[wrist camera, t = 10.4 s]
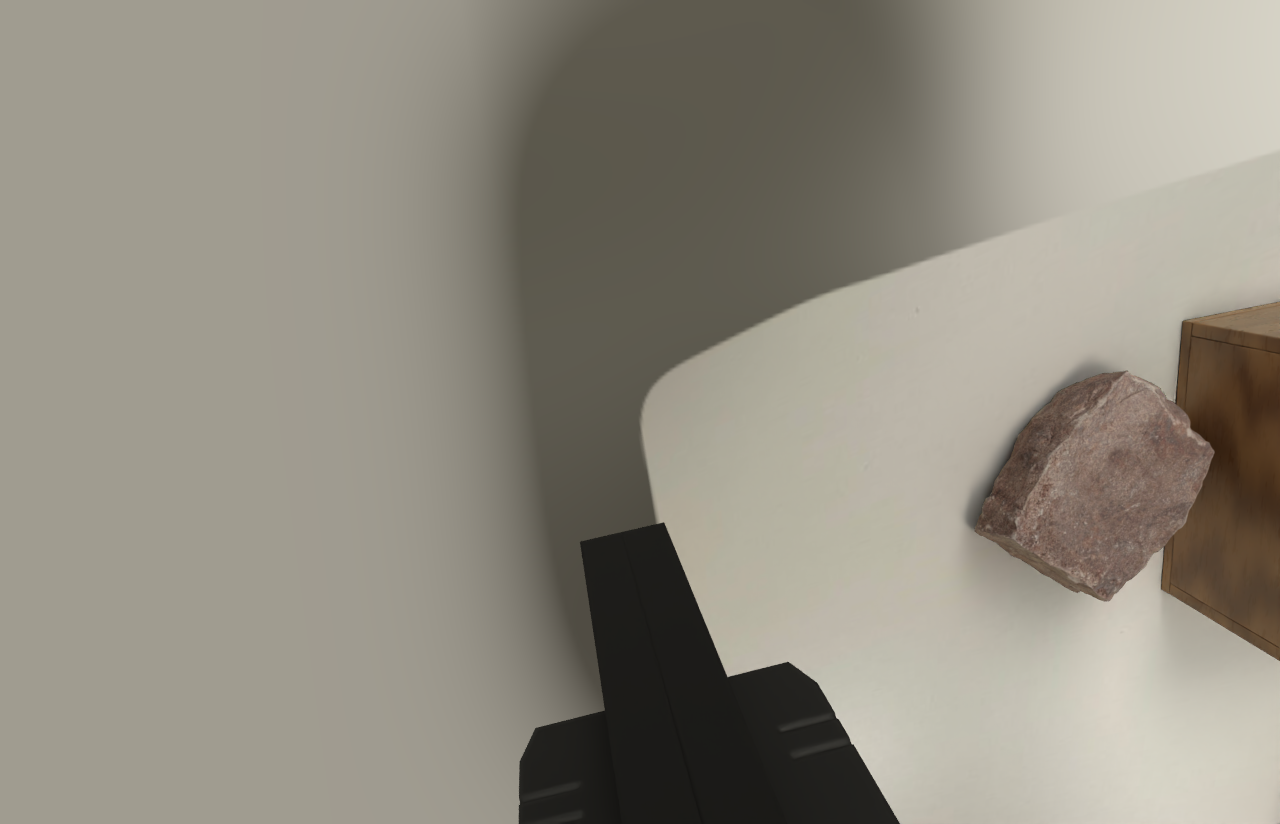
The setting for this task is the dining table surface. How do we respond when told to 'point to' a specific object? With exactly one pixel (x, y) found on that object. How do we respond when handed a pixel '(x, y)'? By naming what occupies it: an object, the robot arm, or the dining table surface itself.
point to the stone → (1097, 483)
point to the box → (1232, 475)
